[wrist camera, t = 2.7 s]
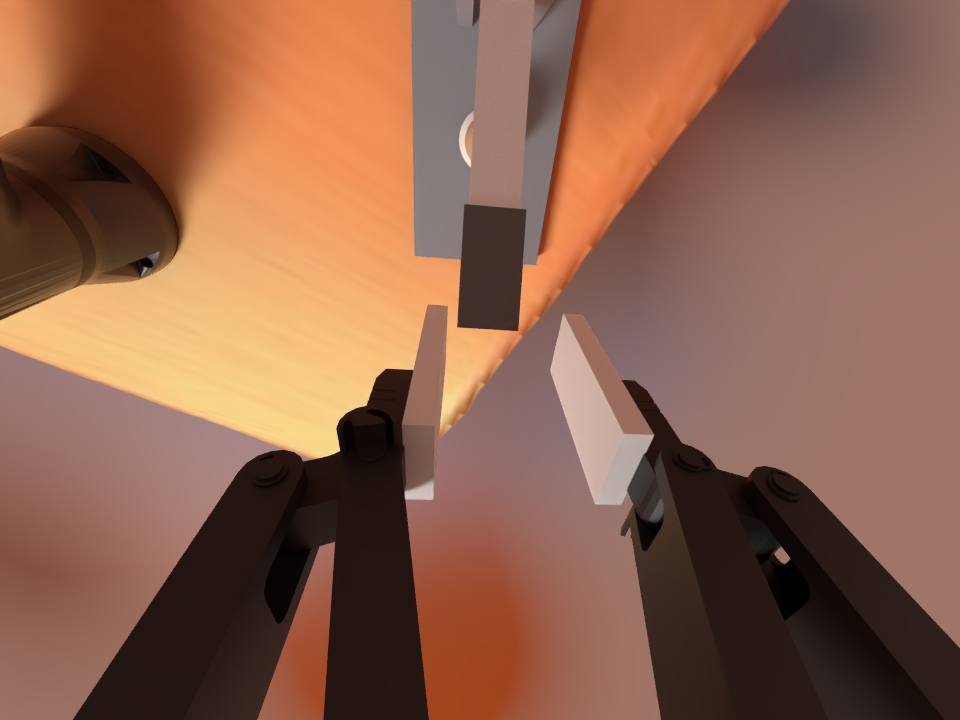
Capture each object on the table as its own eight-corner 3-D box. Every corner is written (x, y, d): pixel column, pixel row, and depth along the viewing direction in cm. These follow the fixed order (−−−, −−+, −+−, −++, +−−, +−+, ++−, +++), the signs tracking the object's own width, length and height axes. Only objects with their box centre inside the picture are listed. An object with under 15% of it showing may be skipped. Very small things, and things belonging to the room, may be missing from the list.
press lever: (457, 327, 24) (457, 327, 21) (477, -47, 22) (481, -105, 19) (510, 330, 25) (518, 330, 22) (535, -40, 23) (547, -96, 20)
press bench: (416, 250, 43) (397, 298, 31) (413, -76, 29) (376, -210, 17) (533, 259, 44) (557, 309, 32) (585, -52, 30) (661, -164, 18)
